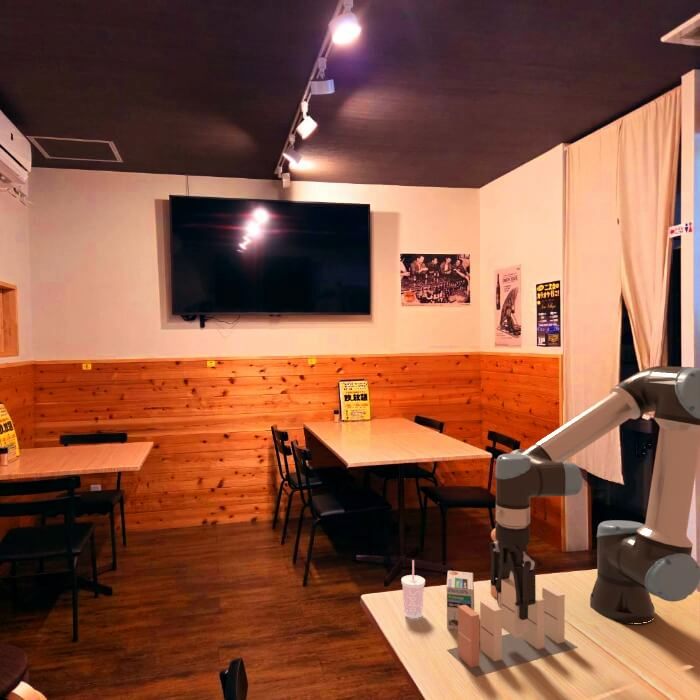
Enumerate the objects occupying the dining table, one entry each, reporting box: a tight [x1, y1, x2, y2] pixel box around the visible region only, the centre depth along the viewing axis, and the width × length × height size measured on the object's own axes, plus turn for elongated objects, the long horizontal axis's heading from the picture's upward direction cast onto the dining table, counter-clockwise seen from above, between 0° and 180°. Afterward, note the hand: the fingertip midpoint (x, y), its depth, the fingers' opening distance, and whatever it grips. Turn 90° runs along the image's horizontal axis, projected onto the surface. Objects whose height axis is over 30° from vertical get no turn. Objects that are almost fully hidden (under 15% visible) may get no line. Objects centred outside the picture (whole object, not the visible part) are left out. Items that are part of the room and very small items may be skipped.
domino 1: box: [457, 605, 480, 668], centre depth 121 cm, size 2×5×11 cm, turn 23°
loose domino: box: [501, 578, 523, 638], centre depth 125 cm, size 2×5×11 cm, turn 23°
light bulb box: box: [446, 570, 475, 631], centre depth 139 cm, size 11×7×11 cm, turn 168°
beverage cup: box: [401, 559, 426, 619], centre depth 143 cm, size 6×6×14 cm
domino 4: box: [541, 585, 566, 643], centre depth 130 cm, size 2×5×11 cm, turn 23°
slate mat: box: [446, 633, 578, 677], centre depth 126 cm, size 28×11×1 cm, turn 113°
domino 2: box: [479, 599, 503, 661], centre depth 123 cm, size 2×5×11 cm, turn 24°
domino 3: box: [522, 594, 544, 649], centre depth 128 cm, size 2×5×11 cm, turn 24°
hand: (511, 625), depth 126 cm, fingers closed on loose domino, 5 cm apart
